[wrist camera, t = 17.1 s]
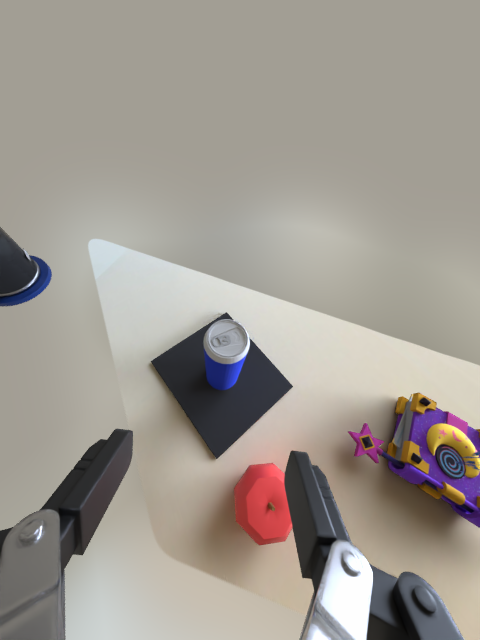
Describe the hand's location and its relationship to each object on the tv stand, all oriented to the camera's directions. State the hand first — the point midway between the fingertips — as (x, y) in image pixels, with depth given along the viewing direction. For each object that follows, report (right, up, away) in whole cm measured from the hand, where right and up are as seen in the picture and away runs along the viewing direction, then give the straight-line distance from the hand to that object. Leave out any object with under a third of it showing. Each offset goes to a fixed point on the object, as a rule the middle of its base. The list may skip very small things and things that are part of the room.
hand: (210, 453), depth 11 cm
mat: (-1, -3, +26) cm, 26 cm away
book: (+30, -14, +24) cm, 41 cm away
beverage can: (-1, -3, +26) cm, 26 cm away
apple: (+4, -17, +19) cm, 26 cm away
